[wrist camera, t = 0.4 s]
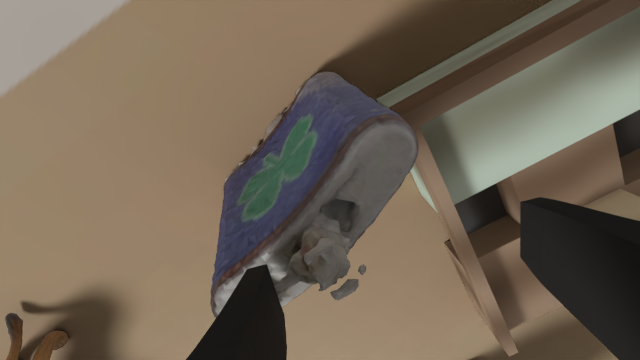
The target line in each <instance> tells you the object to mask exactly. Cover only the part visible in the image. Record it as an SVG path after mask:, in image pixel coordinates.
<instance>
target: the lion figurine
mask: <svg viewBox="0 0 640 360" xmlns="http://www.w3.org/2000/svg"><path fill="white" fill-rule="evenodd" d="M5 320H6V324H7V327H8V332H9V335H10V338H11V347H10V352H9V355H8V357H7V359H6V360H18V357H19V353H20V350H21V346H22V326H23V320H22V319H20V318H19V317H18V315H17V314H14V313H9V314H8V315H7V316H6V317H5ZM67 341H68V335H67V334H66V333H65V332H63V331H52V332H50V333H48V334H47V335H46V336H45V337H44V339H43V340H42V342H41V344H40V346H39V348H38V349H37V351H36V353H35V355H34V357H33V360H50V357H51V354H52V351H53V350H57V349H59V348H61V347H63V346H64V345H65V343H66V342H67Z"/></svg>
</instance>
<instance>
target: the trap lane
mask: <svg viewBox="0 0 640 360" xmlns="http://www.w3.org/2000/svg"><path fill="white" fill-rule="evenodd" d="M376 100H377V102H378V104H379V105H381V106H383V107H384V108H387V109H390V110H392V111H394V112H395V113H397V114H399V115H400V116H401V117H402V118H403V119H404V120H405V121H406V122H407V123H408V124H409V125H410V126H411V128H412V129H413V130H414V132H415V134H416V137H417V139H418V155H417V158H416V161H415V163H414V165H413V167H412V169H411V170H410V172H411V174H412V176H413V178H414V180H415V183H416V185H417V187H418V189H419V191H420V193H421V195H422V196H423V197H424V198H425V199H426V200H427V201H428V203H429V204H430V205H431V206H432V207H433V208H434V209H435V210H436V212H437V213H438V214H439V217H440V219H441V221H442V223H443V225H444V227H445V230H446V232H447V234H448V236H449V238H450V240H449V241H447V242H445V243H444V244H445V246H446V248H447V250H448V252H449V254H450V256H451V258H452V261H453V263H454V265H455V267H456V269H457V271H458V273H459V275H460V277H461V280H462V282H463V284H464V286H465V288H466V290H467V292H468V294H469V296H470V299H471V301H472V303H473V305H474V307H475V309H476V311H477V312H478V314H479V315H480V316H481V318H482V319H483V321H484V322H485V323H486V325H487V326H488V328H489V329H490V330H491V332H492V333H493V335H494V336H495V337H496V339H497V340H498V342H499V343H500V344H501V346H502V347H503V349H504V350H505V351H506V353H507V354H508V356H512V355H514V354H516V353H518V350H517V348H516V346H515V343H514V341H513V339H512V337H511V334H510V332H509V331H510V330H512V329H514V328H516V327H518V326H521V325H523V324H525V323H527V322H529V321H531V320H533V319H536V318H538V317H540V316H542V315H544V314H546V313H548V312H551V311H553V310H555V309H557V308H559V307H561V306H563V305H562V304H561V303H560V302H559V301H558V300H557V299H556V298H555V297H554V296H553V295H552V294H551V293H550V292H549V291H548V290H547V289H546V288H545V287H544V286H543V285H542V284H541V283H540V281H539V280H538V279H537V278H536V277H535V275H534V274H533V273H532V272H531V270H530V269H529V268H528V267H527V265H526V264H525V263H524V261H523V260H522V259H521V257H520V202H522V201H526V200H530V199H534V198H538V197H543V198H549V199H554V200H558V201H562V202H567V203H571V204H575V205H579V206H582V207H583V206H585V205H587V204H589V203H591V202H593V201H595V200H597V199H599V198H601V197H603V196H605V195H607V194H609V193H611V192H613V191H615V190H617V189H619V188H620V189H623V190H625V191H627V192H629V193H632V194H634V195H636V196H639V197H640V0H552V1H550V2H548V3H547V4H545V5H543V6H541V7H539V8H538V9H536V10H534V11H532V12H531V13H529V14H527V15H525V16H523V17H522V18H520V19H518V20H516V21H515V22H513V23H511V24H509V25H507V26H506V27H504V28H502V29H500V30H498V31H497V32H495V33H493V34H491V35H490V36H488V37H486V38H484V39H482V40H481V41H479V42H477V43H475V44H474V45H472V46H470V47H468V48H466V49H465V50H463V51H461V52H459V53H457V54H456V55H454V56H452V57H450V58H449V59H447V60H445V61H443V62H441V63H440V64H438V65H436V66H434V67H433V68H431V69H429V70H427V71H425V72H424V73H422V74H420V75H418V76H416V77H415V78H413V79H411V80H409V81H408V82H406V83H404V84H402V85H400V86H399V87H397V88H395V89H393V90H392V91H390V92H388V93H386V94H384V95H383V96H381V97H379V98H377V99H376Z"/></svg>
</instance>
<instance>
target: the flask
mask: <svg viewBox="0 0 640 360" xmlns="http://www.w3.org/2000/svg"><path fill="white" fill-rule="evenodd" d="M295 94H296V98H295V99H294V101H293V102H292V103H291V104H290V106H289V107H288V108H287V110H285V111H284V113H282V114H279V115H278V116H277V118H276V119H275V120H274V121H271V125H270V126H269V127H268V128H267V131H266V133H265V134H266V135H265V136H264V137H265V138H264V140H263V142H262V144H261V145H259V146H258V147H253V150H252V153H251V155H250V157H249V158H248V159H247V160H246V161H244V162H242V163H239V166H238V167H237V168H236V169H235V170H234V171H232V172H231V174H230V175H229V176H228V177H227V178H226V179H225V181H224V200H223V209H222V214H221V220H220V228H219V238H218V245H217V254H216V261H215V264H214V266H215V273H214V274H213V278H212V281H213V284H212V288H211V307H212V312H213V314H214V316H215V317H216V318H217V316H218V315H219V313H220V312H221V310H222V309H223V307H224V305H225V304H226V302H227V301H228V299H229V297H230V296H231V294H232V293H233V291H234V289H235V288H236V286H237V284H238V283H239V281H240V280H241V278H242V276H243V275H244V273H245V272H246V270H247V269H249V268H253V267H257V266H261V265H265V264H267V266H268V269H269V272H270V275H271V278H272V281H273V284H274V287H275V289H276V292H277V295H278V298H279V301H280V304H281V307H283V306H284V305H285V304H286V303H288V302H289V301H291V300H292V299H294V298H296V297H297V296H298V295H300V294H301V293H303V292H304V291H305V290H306V289H308V288H309V287H310V286H311V285H313V284H316V283H319V284H320V289H319V291H323V290H325V289H327V288H328V287H330V286H331V285H333V284H336V283H337V280H338V278H343V277H344V276H345V275H347V272H348V270H349V268H350V262H349V260H348V259H347V254H348V252H349V250H350V249H351V248H352V247H353V246H354V244H355V242H356V241H357V240H358V239H359V238H360V237H361V236H362V235H363V233H364V232H365V230H366V229H367V228H368V227H369V226H370V225H371V224H372V223H373V222H374V221H375V219H376V218H377V216H378V215H379V213H380V212H381V210H382V209H383V208H384V206H385V205H386V204H387V202H388V201H389V200H390V199H391V197H392V196H393V195H394V194H395V192H396V191H397V190H398V189H399V187H400V186H401V184H402V182H403V181H404V179H405V177H406V175H407V174H408V173H409V172H410V170H411V169H412V167H413V165H414V163H415V161H416V158H417V155H418V139H417V137H416V134H415V132H414V130H413V129H412V128H411V126H410V125H409V124H408V123H407V122H406V121H405V120H404V119H403V118H402V117H401V116H400V115H399V114H397V113H395V112H394V111H392V110H390V109H387V108H384V107H383V106H381V105H379V104H378V103H377V102H376V101H375V100H373V99H372V98H370V97H368V96H366V95H365V94H364V93H363V92H361V91H360V90H359V89H358V88H357V87H356V86H354V85H351V84H349V83H348V82H347V81H346V80H344V79H343V78H342V77H341V76H340V75H338V74H336V73H334V72H327V71H323V72H319V73H316V74H315V75H314V76H312V77H311V78H310V79H309V80H307V81H306V83H305V84H304V85H302V86H301V87H300V88H298V91H296V93H295ZM358 271H359V272H360V274H361V275H363V274H364V273H365V271H366V266H365V265H364V264H363V265H361V266H360V267H359V269H358ZM357 287H358V279H347V281H346V282H345V283H344V284H343V285H342V286H341V287H340V288H339V289H338V290H335V291H332V292H330V293H331V295H332V297H333V298H334V299H335V300H340V299H342V298H344V297H346V296H347V295H349V294H351V293H352V292H354V291H355V290H356V289H357Z"/></svg>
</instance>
